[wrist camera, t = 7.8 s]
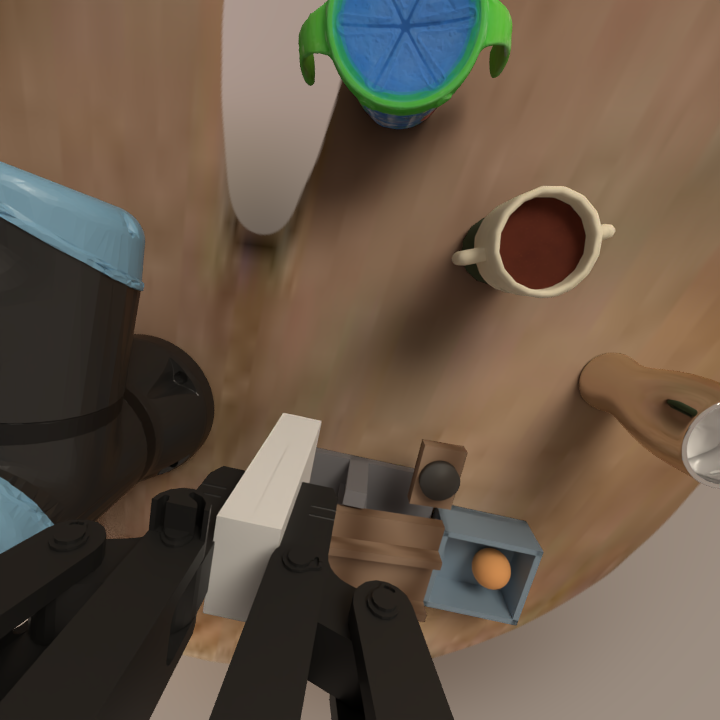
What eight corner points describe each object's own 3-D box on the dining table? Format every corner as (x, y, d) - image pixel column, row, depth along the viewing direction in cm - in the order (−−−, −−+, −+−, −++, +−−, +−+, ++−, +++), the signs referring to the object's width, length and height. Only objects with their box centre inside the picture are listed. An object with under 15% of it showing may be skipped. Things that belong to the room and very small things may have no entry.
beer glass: (621, 423, 42) (749, 507, 28) (561, 398, 42) (658, 469, 27) (657, 363, 41) (814, 419, 26) (595, 337, 40) (718, 377, 26)
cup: (417, 570, 47) (421, 605, 42) (436, 502, 45) (443, 530, 40) (502, 588, 47) (516, 625, 43) (525, 521, 45) (543, 551, 40)
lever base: (258, 561, 48) (238, 610, 41) (279, 439, 44) (261, 471, 38) (406, 593, 48) (410, 647, 41) (440, 474, 44) (451, 511, 38)
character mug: (441, 297, 40) (469, 312, 27) (430, 223, 39) (456, 202, 26) (553, 277, 39) (636, 283, 27) (547, 200, 38) (633, 167, 25)
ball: (493, 570, 46) (461, 568, 45) (503, 540, 45) (471, 538, 44) (511, 599, 42) (476, 597, 42) (522, 568, 41) (487, 565, 41)
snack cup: (308, 142, 37) (283, 99, 28) (315, 9, 35) (291, -91, 25) (477, 157, 37) (513, 118, 27) (497, 24, 35) (544, -72, 25)
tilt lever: (244, 581, 42) (230, 629, 37) (273, 404, 38) (263, 429, 32) (409, 602, 44) (419, 651, 39) (457, 437, 40) (476, 465, 34)
